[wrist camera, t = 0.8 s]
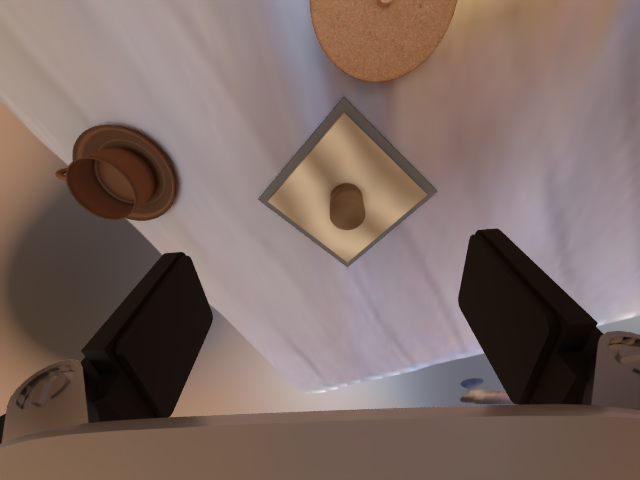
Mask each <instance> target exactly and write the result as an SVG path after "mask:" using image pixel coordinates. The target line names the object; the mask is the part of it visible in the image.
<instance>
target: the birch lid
mask: <svg viewBox="0 0 640 480" xmlns="http://www.w3.org/2000/svg"><path fill="white" fill-rule="evenodd" d="M425 196H427V193H426V192H425V191H424V190H423V189H422V188H421V187H420V186H419V185H418V184H417V183H416V182H415V181H414V180H413V179H412V178H411V177H410V176H409V175H408V174H407V173H406V172H405V171H404V170H403V169H402V168H401V167H400V166H399V165H398V164H397V163H396V162H395V161H394V160H393V159H392V158H391V157H390V156H389V155H388V154H387V153H386V152H385V151H384V150H383V149H382V148H381V147H379V146H378V145H377V144H376V143H375V142H374V141H373V140H372V139H371V138H370V137H369V136H368V135H367V134H366V133H365V132H364V131H363V130H362V129H361V128H360V127H359V126H358V125H357V124H356V123H355V122H354V121H353V120H352V119H351V118H350V117H349V116H348V115H347V114H346V113H345V112H343V113H342V115H341V116H340V117H339V118H338V119H337V120H336V122H335V123H334V124H333V125H332V126H331V127H330V129H329V130H328V131H327V132H326V133H325V134H324V136H323V137H322V138H321V139H320V140H319V141H318V143H317V144H316V145H315V146H314V147H313V148H312V150H311V151H310V152H309V153H308V154H307V155H306V157H305V158H304V159H303V160H302V161H301V162H300V164H299V165H298V166H297V167H296V168H295V169H294V171H293V172H292V173H291V174H290V175H289V176H288V178H287V179H286V180H285V181H284V182H283V183H282V185H281V186H280V187H279V188H278V189H277V190H276V192H275V193H274V194H273V195H272V196H271V197H270V199H269V200H268V202H269V203H270V204H272V205H273V206H274V207H275V208H277V209H278V210H279V211H281V212H282V213H283V214H285V215H286V216H287V217H289V218H290V219H291V220H292V221H294V222H295V223H296V224H298V225H299V226H300V227H302V228H303V229H304V230H306V231H307V232H308V233H309V234H311V235H312V236H313V237H315V238H316V239H317V240H319V241H320V242H321V243H323V244H324V245H325V246H326V247H328V248H329V249H330V250H332V251H333V252H334V253H336V254H337V255H338V256H339V257H341V258H342V259H343V260H345V261H346V262H347V263H348V262H349V261H350V260H351V259H352V258H354V257H355V256H356V255H357V254H358V253H359V252H361V251H362V250H363V249H364V248H365V247H367V246H368V245H369V244H370V243H371V242H372V241H374V240H375V239H376V238H377V237H378V236H379V235H381V234H382V233H383V232H384V231H385V230H387V229H388V228H389V227H390V226H391V225H392V224H394V223H395V222H396V221H397V220H398V219H400V218H401V217H402V216H403V215H404V214H405V213H407V212H408V211H409V210H410V209H411V208H412V207H414V206H415V205H416V204H417V203H418V202H420V201H421V200H422V199H423V198H424V197H425Z"/></svg>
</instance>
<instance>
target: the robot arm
mask: <svg viewBox="0 0 640 480" xmlns="http://www.w3.org/2000/svg"><path fill="white" fill-rule="evenodd" d="M458 302H459V307H460V309H461V311H462V313H463V315H464V317H465V318H466V320H467V322H468V324H469V326H470V327H471V329H472V331H473V333H474V335H475V336H476V338H477V340H478V342H479V344H480V345H481V347H482V349H483V351H484V353H485V354H486V356H487V358H488V360H489V362H490V364H491V365H492V367H493V369H494V371H495V373H496V374H497V376H498V378H499V380H500V382H501V383H502V385H503V387H504V389H505V390H506V393H507V394H508V396H509V398H510V400H511V401H512V402H513V403H514V404H519V405H480V406H453V407H452V406H451V407H420V408H393V409H391V408H390V409H362V410H337V411H310V412H287V413H286V412H284V413H259V414H237V415H214V416H191V417H170V416H171V414H172V413H173V411H174V408H175V406H176V403H177V401H178V399H179V397H180V394H181V392H182V390H183V388H184V385H185V383H186V381H187V379H188V376H189V374H190V372H191V370H192V367H193V365H194V363H195V360H196V358H197V356H198V354H199V351H200V349H201V347H202V344H203V342H204V340H205V338H206V335H207V333H208V331H209V328H210V326H211V324H212V320H213V315H212V312H211V309H210V306H209V304H208V301H207V298H206V296H205V293H204V291H203V288H202V285H201V283H200V280H199V278H198V275H197V272H196V270H195V267H194V265H193V262H192V260H191V258H190V257H189V256H186V255H185V254H184V253H183V252H176V253H165V254H163V255H162V256H161V258H160V259H159V260H158V261H157V262H156V263H155V265H154V266H153V267H152V268H151V270H149V272H148V273H147V274H146V275H145V276H144V278H143V279H142V280H141V281H140V282H139V283H138V285H137V286H136V287H135V288H134V289H133V290H132V292H131V293H130V294H129V295H128V296H127V298H126V299H125V300H124V301H123V302H122V304H121V305H120V306H119V307H118V308H117V309H116V310H115V312H114V313H113V314H112V315H111V316H110V318H109V319H108V320H107V321H106V322H105V323H104V325H103V326H102V327H101V328H100V329H99V331H98V332H97V333H96V334H95V335H94V336H93V338H92V339H91V340H90V341H89V342H88V344H87V345H86V346H85V347H84V348H83V349H82V350H81V351H82V353H83V354H84V355H85V358H84V359H83V360H82V362H81V363H80V362H78V361H76V360H64V361H59V362H56V363H54V364H51V365H49V366H47V367H45V368H43V369H41V370H40V371H38V372H36V373H35V374H33V375H32V376H31V377H29V378H28V379H27V380H25V382H23V383H22V384H21V386H19V387H18V388H17V389H16V391H15V392H14V393H13V395H12V396H11V397H10V400H9V402H8V405H7V410H6V414H4V415H2V416H1V417H0V480H640V335H638V334H634V333H630V332H623V331H613V332H607V333H605V334H603V333H602V332H601V331H600V330H599V329H598V328H597V327H596V325H597V322H596V321H595V320H594V319H593V318H592V317H591V316H590V315H589V314H588V313H587V312H586V311H585V310H584V309H583V308H581V307H580V306H579V305H578V304H577V303H576V302H575V301H574V300H573V299H572V298H571V297H570V296H569V295H568V294H567V293H566V292H565V291H564V290H563V289H561V288H560V287H559V286H558V285H557V284H556V283H555V282H554V281H553V280H552V279H551V278H550V277H549V276H548V275H547V274H546V273H545V272H544V271H543V270H541V269H540V268H539V267H538V266H537V265H536V264H535V263H534V262H533V261H532V260H531V259H530V258H529V257H528V256H527V255H526V254H525V253H524V252H523V251H521V250H520V249H519V248H518V247H517V246H516V245H515V244H514V243H513V242H512V241H511V240H510V239H509V238H508V237H507V236H506V235H505V234H504V233H503V232H501V231H500V230H499V229H486V230H478V231H477V232H476V233H475V235H471V237H470V239H469V244H468V250H467V255H466V260H465V266H464V271H463V276H462V281H461V287H460V292H459V297H458ZM168 417H169V418H168Z"/></svg>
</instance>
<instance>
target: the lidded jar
mask: <svg viewBox="0 0 640 480" xmlns="http://www.w3.org/2000/svg"><path fill="white" fill-rule="evenodd" d="M456 3H457V0H310V11H311V17H312V22H313V27H314V30H315V33H316V36H317V38H318V41H319V43H320V45H321V47H322V49H323V50H324V52H325V53H326V55H327V56H328V58H329V59H330V60H331V61H332V62H333V63H334V64H335V65H336V66H337V67H338V68H339V69H341V70H342V71H343V72H344V73H346V74H348V75H350V76H352V77H354V78H357V79H360V80H363V81H370V82H382V81H388V80H393V79H396V78H398V77H401V76H403V75H405V74H407V73H409V72H410V71H412V70H414V69H415V68H416V67H418V66H419V65H420V64H421V63H423V62H424V61H425V60H426V59H427V58H428V57H429V56H430V54H431V53H432V52H433V51H434V50H435V48H436V47H437V46H438V44H439V43H440V41H441V40H442V38H443V36H444V34H445V33H446V31H447V29H448V27H449V24H450V22H451V19H452V17H453V14H454V10H455V7H456Z"/></svg>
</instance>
